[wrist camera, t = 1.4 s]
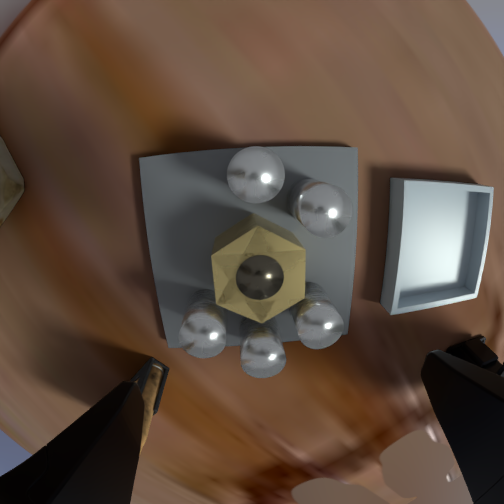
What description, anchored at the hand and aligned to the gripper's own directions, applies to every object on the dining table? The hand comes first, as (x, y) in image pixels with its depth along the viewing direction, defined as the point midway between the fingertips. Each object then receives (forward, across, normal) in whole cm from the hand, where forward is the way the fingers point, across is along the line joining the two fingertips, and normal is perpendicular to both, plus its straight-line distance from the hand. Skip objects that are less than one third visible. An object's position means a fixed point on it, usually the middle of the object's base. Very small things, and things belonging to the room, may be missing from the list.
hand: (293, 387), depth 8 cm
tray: (+13, -15, 0) cm, 20 cm away
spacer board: (+13, 0, 0) cm, 13 cm away
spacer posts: (+13, 0, 0) cm, 13 cm away
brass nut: (+12, 0, 0) cm, 12 cm away
